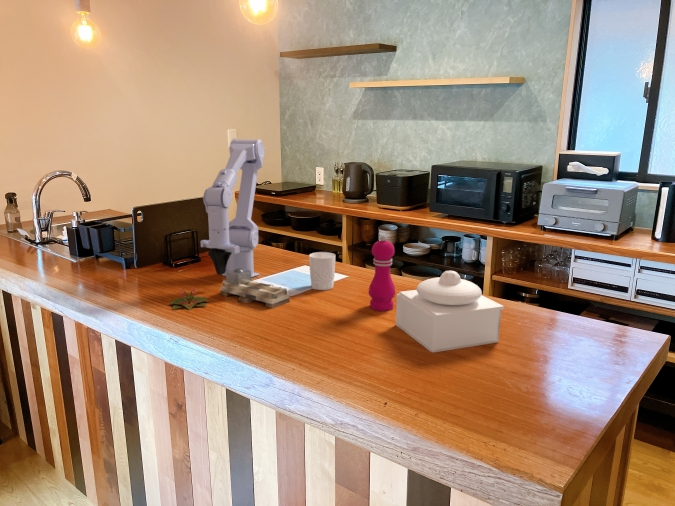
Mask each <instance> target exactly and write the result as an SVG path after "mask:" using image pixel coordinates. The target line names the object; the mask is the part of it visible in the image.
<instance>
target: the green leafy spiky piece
mask: <svg viewBox="0 0 675 506" xmlns="http://www.w3.org/2000/svg"><path fill="white" fill-rule="evenodd" d="M188 290H189V289H188ZM194 290H195V288H191V290H190V292H189V295H188V293H187V291H186V290H185V288H182V290H181V289H180V292H182V293H183V294H181V295H180V296H182V298H181V297H179V298H172V300H173V301H171V302H170V303H168V304H167V306H168V305H173V307H172V310H177V309H181V308H182V309H183V308H186V309H187V310H189V311H190V310H191V309H192V308H193V307H208V306H207V305H206V303H204V302H210V300H208V299H206V298H205V296H196V295H197V294H198V292H196V293H195V291H194ZM195 296H196V297H195Z"/></svg>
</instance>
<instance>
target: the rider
mask: <svg viewBox="0 0 675 506" xmlns="http://www.w3.org/2000/svg"><path fill="white" fill-rule="evenodd" d="M225 277H226V279H225V280H227V282H230V283H234V284H238V285H240V284H243V285H246V282H249V281H252V277H251V271H250V270H246V269H241V268H237V269H234V270H230V271H227V272H226V276H225Z"/></svg>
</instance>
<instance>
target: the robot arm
mask: <svg viewBox="0 0 675 506" xmlns="http://www.w3.org/2000/svg"><path fill="white" fill-rule="evenodd" d="M228 150H229V158H228V161H227V163H226V164H225V165H226V166H225V168H222V169H220V170H219V172H218V174H217V176H216V177H215V179H214V181H213V183H212V185H211V186H209V187H207V188H206V189H205V190H204V193H203V198H202V201H203V204H204V205H205V206H204V207H205V212H206V213H207V216H208V217H207V219H208V237H209V239H202V240H200V248H208V249H210V250H209V251H207V255H208V256H209V258H210V259H211V261H212V263H213V267H214V269H215V272H216V274H217V275H222V276H223V277H226V272H227V271H230V270H234V269H237V268H241V269H246V270H250V271H251V278H254V277H257V276H259V275H260V273H259V272H254V271H255V270H254V249H256V247H257V246H258V244H259V227H258V225H257V224H256V223H255V222H254V221H253V220H252V214H253V206H254V201H255V193H256V188H257V180H258V172H259V170H260V169H262V168H263V165H264V158H265V151H266V150H265V146H264V143H263V141H262V140H261V138H259V139H237V138H233V139H231V141H230V143H229V149H228ZM240 170H241V177H240V183H239V185H240V186H239V190H238V191H239V193H238V198H237V205H236V211H235V217H234V218H233V219H232V220H230V221H229V219H230V218H229V207H230V206H231V205H232V198H233V190H234V188H235V186H236V184H237V182H238V175H237V174H238V172H239V171H240Z"/></svg>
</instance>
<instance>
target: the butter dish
mask: <svg viewBox="0 0 675 506" xmlns="http://www.w3.org/2000/svg"><path fill="white" fill-rule="evenodd" d="M482 294H483V291H482V289H481V288H480V286H478V284H475V283H474V282H472V281H469V280H466V279H463V278H461V276H460V274H459V273H458V272H457V271H455V270H445V271H443V272H442V274H441V275H440V277H439V276H438V277H432V278H428V279H425V280H422V281H421V282H420V283H418V285H417V287H416V289H412V290H411V289H410V290H403V291H399V292H398V293H397V294H396V307H395V308H396V309H395V325H396V326H397V327H398V328H399V329H401V330H402V331H404V333H406V334H407V335H408V336H410V337H411V338H412V339H414V340H415V342H417V343H419V344H420V345H421V346H423V347H424V348H425V349H426V350H428V351H429V352H430V353H438V352H445V351H450V350H456V349H463V348H469V347H475V346H476V347H477V346H482V345H488V344H495V343H499V341H500V330H501V328H500V327H501V317H502V310H504V309H505V306H504V305H502V304H500V303H498V302H497V301H494V300H492V299H491V298H488V297H486V296H485V295H482Z"/></svg>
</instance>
